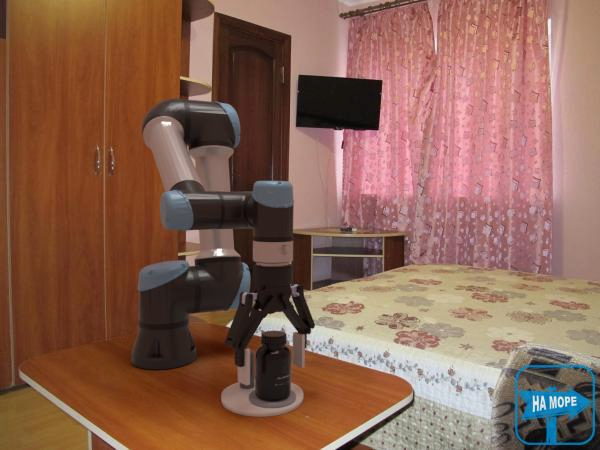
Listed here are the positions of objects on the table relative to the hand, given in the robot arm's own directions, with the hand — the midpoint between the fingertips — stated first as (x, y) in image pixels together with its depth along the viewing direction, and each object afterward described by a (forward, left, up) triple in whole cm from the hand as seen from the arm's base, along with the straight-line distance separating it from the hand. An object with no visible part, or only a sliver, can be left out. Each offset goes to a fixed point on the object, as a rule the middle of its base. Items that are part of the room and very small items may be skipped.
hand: (272, 374), depth 94 cm
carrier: (-3, 0, -6) cm, 6 cm away
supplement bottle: (0, 0, -4) cm, 4 cm away
